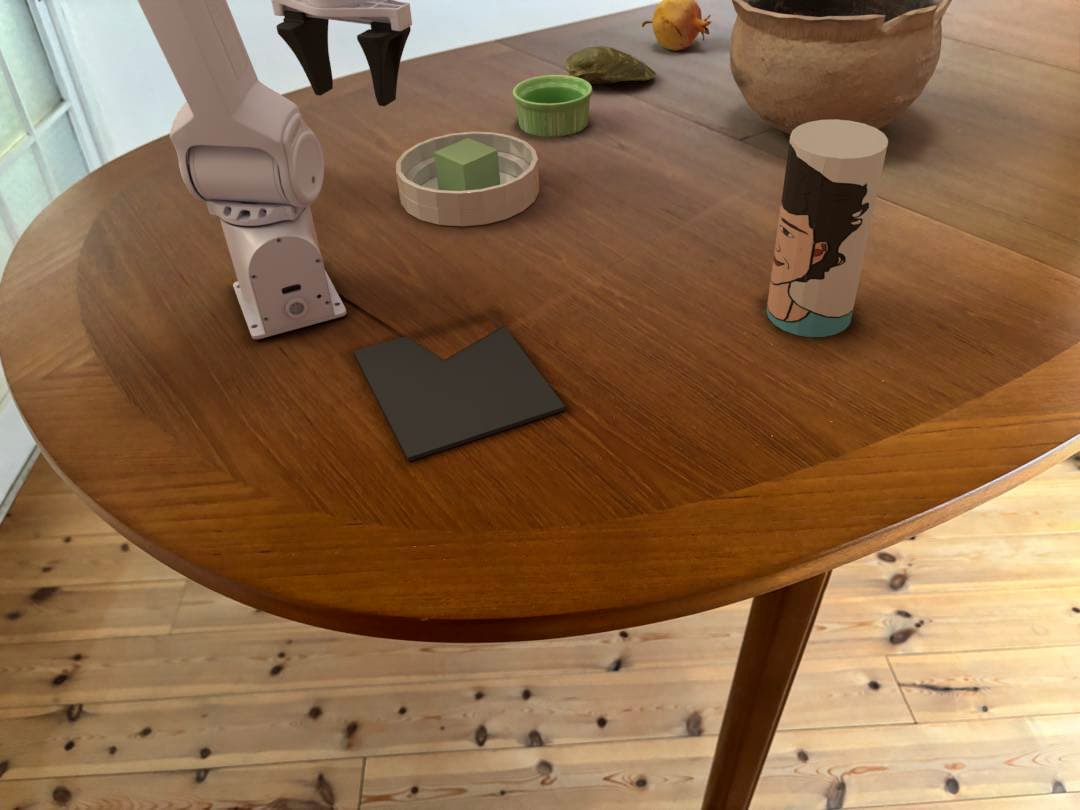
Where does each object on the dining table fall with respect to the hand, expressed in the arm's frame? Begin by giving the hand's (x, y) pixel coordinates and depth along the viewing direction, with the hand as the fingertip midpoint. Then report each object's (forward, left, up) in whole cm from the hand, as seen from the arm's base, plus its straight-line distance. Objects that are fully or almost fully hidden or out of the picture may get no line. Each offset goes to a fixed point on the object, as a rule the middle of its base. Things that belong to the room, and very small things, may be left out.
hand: (355, 97), depth 90 cm
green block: (-7, -8, -9) cm, 14 cm away
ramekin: (+5, -23, -10) cm, 26 cm away
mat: (-35, +4, -10) cm, 37 cm away
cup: (-40, -25, -10) cm, 49 cm away
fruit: (+21, -49, -10) cm, 55 cm away
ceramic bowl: (-10, -49, -10) cm, 51 cm away
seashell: (+14, -35, -10) cm, 39 cm away
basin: (-7, -8, -10) cm, 15 cm away
